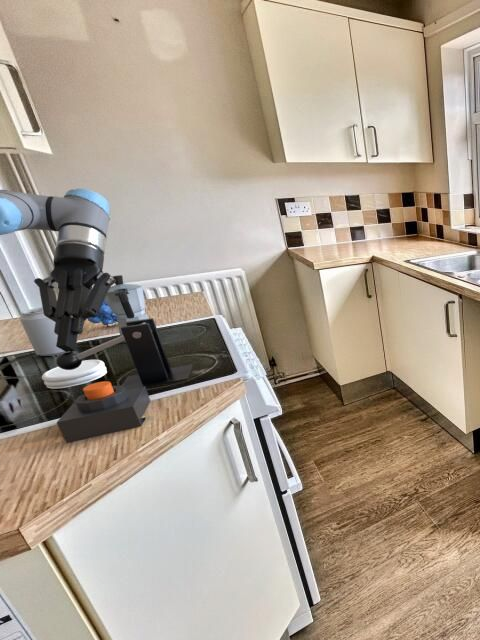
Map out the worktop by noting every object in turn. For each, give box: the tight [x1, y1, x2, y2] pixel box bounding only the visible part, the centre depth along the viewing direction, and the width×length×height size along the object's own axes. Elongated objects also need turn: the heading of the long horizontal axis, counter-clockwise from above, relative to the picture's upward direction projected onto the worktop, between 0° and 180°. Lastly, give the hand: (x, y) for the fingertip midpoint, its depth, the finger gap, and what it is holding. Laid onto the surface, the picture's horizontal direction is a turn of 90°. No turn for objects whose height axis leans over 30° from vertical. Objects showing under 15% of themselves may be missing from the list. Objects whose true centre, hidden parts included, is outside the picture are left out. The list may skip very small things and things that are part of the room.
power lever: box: [55, 322, 146, 370], centre depth 86 cm, size 16×4×4 cm, turn 119°
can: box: [19, 306, 66, 357], centre depth 109 cm, size 8×8×12 cm
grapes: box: [86, 299, 118, 326], centre depth 129 cm, size 12×7×12 cm, turn 134°
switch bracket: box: [121, 317, 195, 390], centre depth 90 cm, size 12×9×14 cm
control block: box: [56, 385, 151, 444], centre depth 76 cm, size 10×9×6 cm
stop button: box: [82, 380, 114, 400], centre depth 75 cm, size 4×4×2 cm
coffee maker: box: [105, 274, 150, 343], centre depth 117 cm, size 15×9×18 cm, turn 42°
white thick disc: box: [41, 359, 108, 390], centre depth 93 cm, size 10×10×4 cm
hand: (65, 348), depth 84 cm, fingers closed
